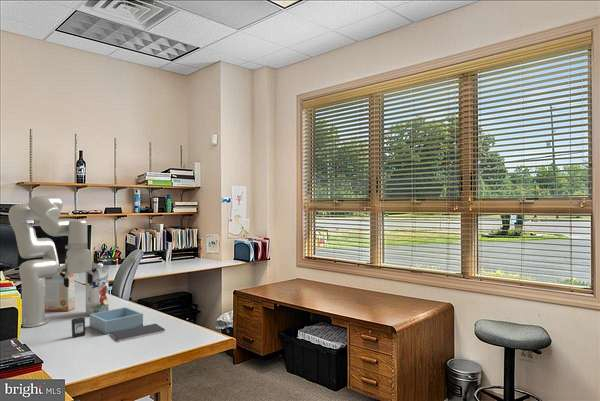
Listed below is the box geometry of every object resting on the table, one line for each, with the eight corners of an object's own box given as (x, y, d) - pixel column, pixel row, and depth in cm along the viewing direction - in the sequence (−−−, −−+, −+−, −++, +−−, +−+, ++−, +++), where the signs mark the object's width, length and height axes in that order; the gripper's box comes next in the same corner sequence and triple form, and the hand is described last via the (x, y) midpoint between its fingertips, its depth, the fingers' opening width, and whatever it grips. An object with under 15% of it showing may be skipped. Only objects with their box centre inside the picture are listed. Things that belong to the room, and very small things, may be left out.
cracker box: (75, 308, 235) (75, 271, 235) (68, 311, 229) (68, 273, 228) (51, 308, 236) (51, 271, 236) (44, 311, 230) (44, 273, 230)
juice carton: (83, 315, 221) (82, 264, 221) (98, 310, 231) (97, 261, 231) (96, 316, 219) (96, 265, 218) (111, 311, 229) (110, 262, 229)
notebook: (156, 326, 204) (109, 335, 190) (155, 323, 204) (109, 332, 190) (165, 333, 194) (117, 343, 180) (165, 329, 194) (117, 339, 180)
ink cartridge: (73, 338, 186) (72, 320, 185) (71, 337, 187) (71, 319, 187) (85, 335, 189) (84, 318, 189) (84, 334, 190) (83, 316, 190)
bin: (105, 334, 190) (105, 321, 190) (89, 326, 202) (89, 314, 202) (143, 325, 203) (142, 313, 203) (126, 318, 215) (126, 306, 215)
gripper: (59, 249, 179) (60, 289, 179) (101, 246, 192) (101, 283, 192) (53, 248, 184) (54, 287, 184) (94, 245, 197) (94, 281, 197)
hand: (78, 285), depth 188 cm, fingers open, 9 cm apart
